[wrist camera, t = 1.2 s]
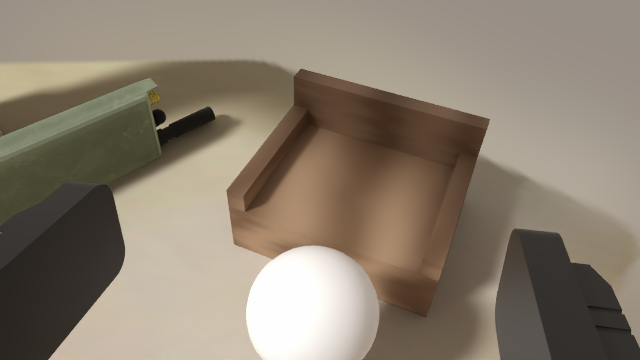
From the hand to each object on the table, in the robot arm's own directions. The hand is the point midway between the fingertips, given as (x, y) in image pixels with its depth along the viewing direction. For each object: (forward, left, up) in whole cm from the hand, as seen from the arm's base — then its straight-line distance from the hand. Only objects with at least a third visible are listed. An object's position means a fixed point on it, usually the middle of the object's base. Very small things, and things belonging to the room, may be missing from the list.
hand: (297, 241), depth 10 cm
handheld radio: (-25, +13, -21) cm, 35 cm away
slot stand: (-4, +18, -21) cm, 28 cm away
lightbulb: (-2, +6, -21) cm, 22 cm away
